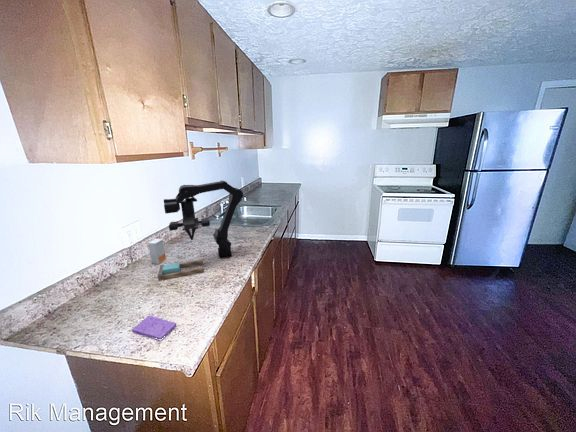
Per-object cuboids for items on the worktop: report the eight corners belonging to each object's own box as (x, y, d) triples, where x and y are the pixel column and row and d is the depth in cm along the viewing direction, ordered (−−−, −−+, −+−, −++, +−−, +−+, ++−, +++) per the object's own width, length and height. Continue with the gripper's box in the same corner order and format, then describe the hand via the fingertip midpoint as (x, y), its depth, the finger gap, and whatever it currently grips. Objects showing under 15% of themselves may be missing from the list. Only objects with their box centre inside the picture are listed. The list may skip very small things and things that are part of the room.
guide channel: (203, 263, 122) (202, 258, 121) (204, 272, 114) (203, 266, 113) (161, 270, 115) (160, 265, 115) (158, 280, 107) (157, 275, 106)
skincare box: (158, 264, 122) (154, 243, 118) (151, 263, 122) (147, 242, 119) (166, 259, 127) (163, 239, 124) (160, 258, 128) (156, 238, 124)
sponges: (161, 342, 74) (160, 337, 74) (132, 333, 78) (130, 328, 78) (177, 326, 81) (176, 322, 80) (149, 318, 85) (148, 314, 84)
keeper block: (180, 269, 117) (179, 262, 116) (179, 274, 112) (178, 267, 111) (165, 272, 114) (163, 265, 113) (163, 277, 110) (162, 270, 109)
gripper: (165, 217, 105) (170, 248, 110) (208, 213, 111) (212, 242, 116) (167, 211, 115) (172, 240, 120) (207, 207, 121) (210, 235, 126)
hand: (192, 239), depth 120 cm, fingers closed
